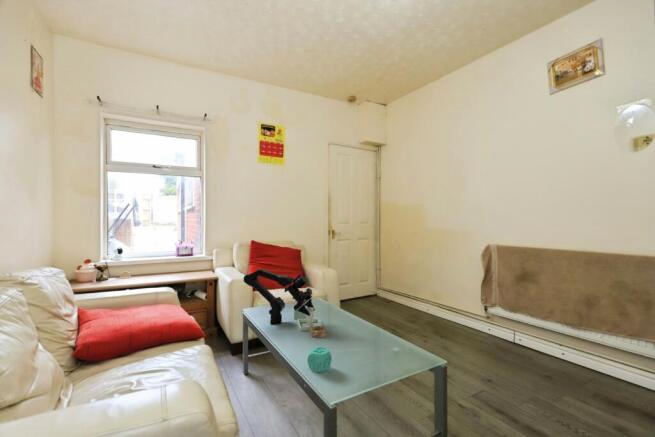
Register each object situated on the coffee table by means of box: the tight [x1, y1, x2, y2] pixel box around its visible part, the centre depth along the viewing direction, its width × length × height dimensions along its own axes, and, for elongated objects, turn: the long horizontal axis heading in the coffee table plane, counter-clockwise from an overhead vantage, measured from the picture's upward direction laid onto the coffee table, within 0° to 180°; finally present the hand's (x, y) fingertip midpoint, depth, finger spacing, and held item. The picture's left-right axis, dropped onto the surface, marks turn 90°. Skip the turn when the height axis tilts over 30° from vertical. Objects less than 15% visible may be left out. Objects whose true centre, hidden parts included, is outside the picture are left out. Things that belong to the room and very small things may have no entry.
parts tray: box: [296, 317, 323, 332], centre depth 177 cm, size 14×14×3 cm
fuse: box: [305, 306, 315, 327], centre depth 177 cm, size 4×4×11 cm
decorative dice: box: [306, 346, 333, 373], centre depth 130 cm, size 8×8×8 cm
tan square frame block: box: [309, 324, 328, 338], centre depth 165 cm, size 8×8×4 cm
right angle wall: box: [293, 309, 307, 320], centre depth 196 cm, size 12×12×8 cm
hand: (312, 312), depth 176 cm, fingers open, 9 cm apart
